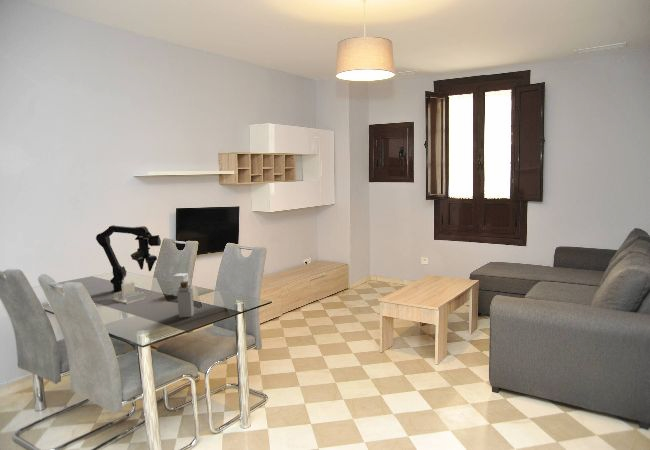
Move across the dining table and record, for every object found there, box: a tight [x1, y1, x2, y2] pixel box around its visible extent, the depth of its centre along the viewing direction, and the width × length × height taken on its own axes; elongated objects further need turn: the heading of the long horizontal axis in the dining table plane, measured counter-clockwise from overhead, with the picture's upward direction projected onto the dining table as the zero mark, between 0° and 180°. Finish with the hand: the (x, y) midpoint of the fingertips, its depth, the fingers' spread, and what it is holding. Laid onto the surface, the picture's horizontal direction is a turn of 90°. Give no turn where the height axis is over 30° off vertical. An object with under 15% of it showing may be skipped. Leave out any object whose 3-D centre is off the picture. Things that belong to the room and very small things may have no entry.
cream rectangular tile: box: [121, 281, 136, 295], centre depth 298 cm, size 2×7×9 cm, turn 142°
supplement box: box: [172, 272, 190, 297], centre depth 305 cm, size 7×7×13 cm
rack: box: [112, 290, 146, 305], centre depth 298 cm, size 15×12×4 cm
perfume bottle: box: [176, 282, 195, 318], centre depth 264 cm, size 7×7×18 cm
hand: (145, 270), depth 316 cm, fingers open, 9 cm apart
